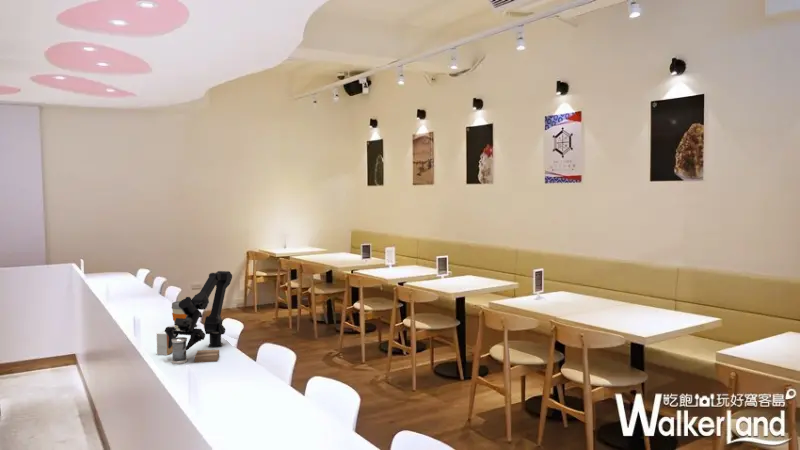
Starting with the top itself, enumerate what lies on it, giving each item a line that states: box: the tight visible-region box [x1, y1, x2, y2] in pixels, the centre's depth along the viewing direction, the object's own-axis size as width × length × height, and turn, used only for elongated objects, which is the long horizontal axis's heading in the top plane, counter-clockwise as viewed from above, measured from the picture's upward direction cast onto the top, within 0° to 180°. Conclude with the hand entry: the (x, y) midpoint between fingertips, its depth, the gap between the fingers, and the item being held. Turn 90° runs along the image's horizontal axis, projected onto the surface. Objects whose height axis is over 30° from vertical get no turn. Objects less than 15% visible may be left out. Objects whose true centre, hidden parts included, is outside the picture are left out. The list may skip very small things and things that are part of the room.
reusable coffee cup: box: [171, 300, 187, 330], centre depth 343 cm, size 13×13×15 cm
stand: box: [194, 349, 220, 363], centre depth 279 cm, size 10×10×3 cm
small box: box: [156, 330, 173, 356], centre depth 290 cm, size 8×6×10 cm
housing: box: [171, 336, 188, 365], centre depth 274 cm, size 7×7×11 cm
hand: (177, 348), depth 272 cm, fingers open, 9 cm apart
